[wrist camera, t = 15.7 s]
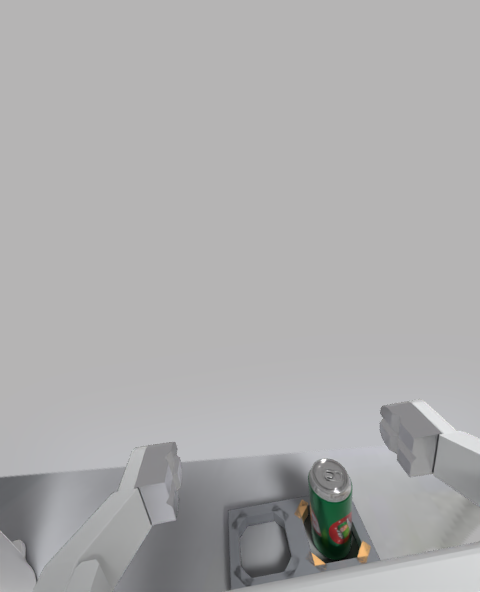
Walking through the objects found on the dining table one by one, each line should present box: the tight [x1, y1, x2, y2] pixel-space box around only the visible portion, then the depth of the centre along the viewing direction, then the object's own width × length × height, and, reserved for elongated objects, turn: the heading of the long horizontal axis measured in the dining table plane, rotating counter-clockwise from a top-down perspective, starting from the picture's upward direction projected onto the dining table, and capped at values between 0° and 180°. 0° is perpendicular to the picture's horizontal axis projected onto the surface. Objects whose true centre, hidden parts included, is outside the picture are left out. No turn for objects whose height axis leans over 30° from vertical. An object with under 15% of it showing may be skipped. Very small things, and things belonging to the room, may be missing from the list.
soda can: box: [308, 459, 352, 560], centre depth 33 cm, size 5×5×12 cm
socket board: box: [228, 496, 381, 590], centre depth 34 cm, size 18×9×2 cm, turn 95°
